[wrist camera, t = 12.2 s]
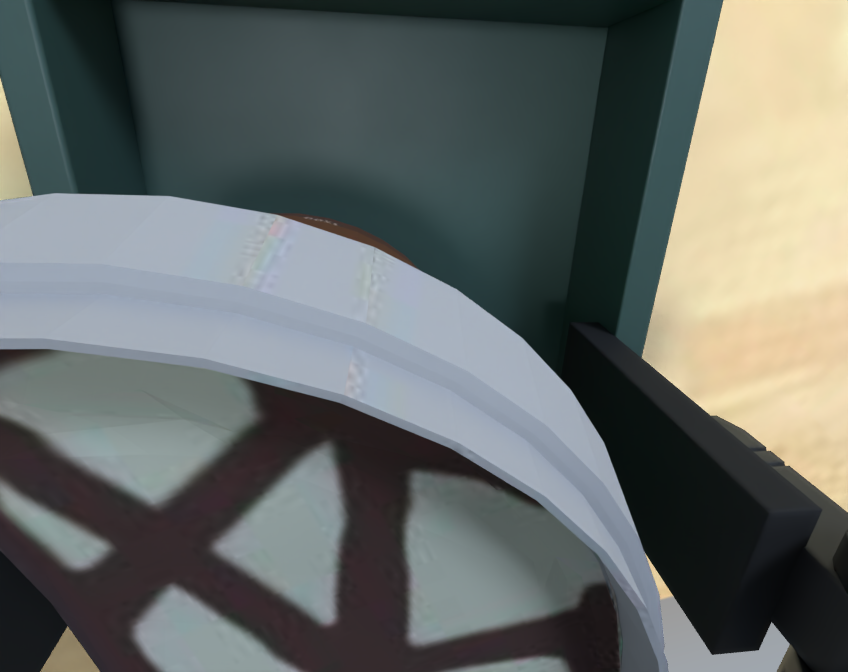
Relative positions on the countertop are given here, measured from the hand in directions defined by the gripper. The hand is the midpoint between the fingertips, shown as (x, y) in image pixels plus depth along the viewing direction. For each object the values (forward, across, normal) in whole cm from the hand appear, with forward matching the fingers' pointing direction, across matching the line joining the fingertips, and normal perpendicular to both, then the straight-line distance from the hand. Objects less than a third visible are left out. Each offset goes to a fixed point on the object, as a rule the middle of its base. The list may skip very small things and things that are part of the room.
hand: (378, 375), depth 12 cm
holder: (+3, 0, 0) cm, 3 cm away
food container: (+2, 0, 0) cm, 2 cm away
